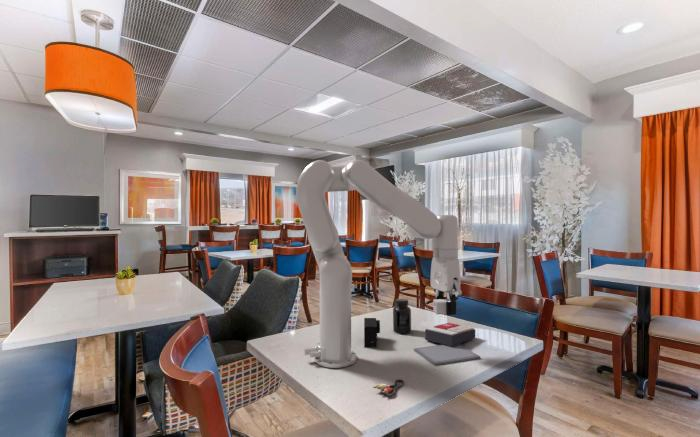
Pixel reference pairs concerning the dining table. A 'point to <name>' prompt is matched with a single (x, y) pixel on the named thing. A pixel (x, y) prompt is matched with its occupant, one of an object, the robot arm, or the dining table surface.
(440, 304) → the usb wall charger
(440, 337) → the grey product box
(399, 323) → the supplement bottle
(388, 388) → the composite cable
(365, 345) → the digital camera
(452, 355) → the desk pad
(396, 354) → the dining table surface
